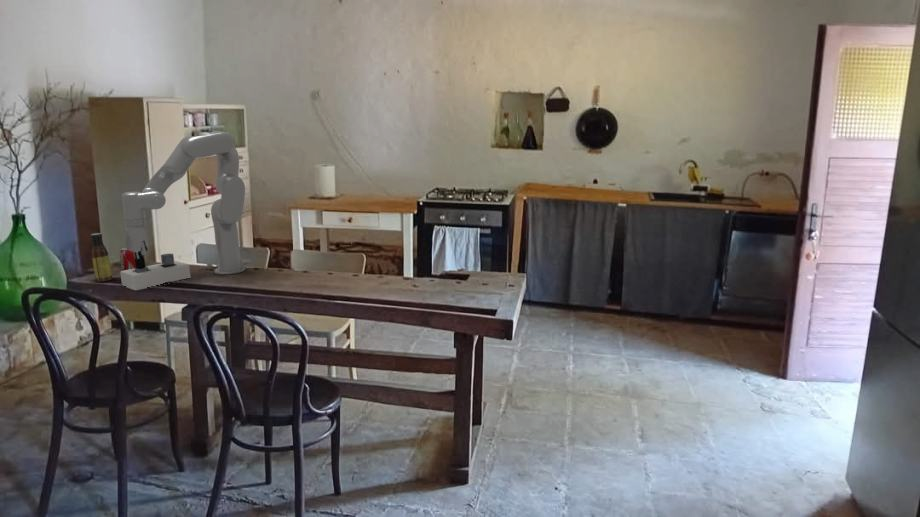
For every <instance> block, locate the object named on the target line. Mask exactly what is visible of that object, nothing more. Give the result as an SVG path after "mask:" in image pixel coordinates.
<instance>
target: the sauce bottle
mask: <svg viewBox="0 0 920 517" xmlns="http://www.w3.org/2000/svg"><path fill="white" fill-rule="evenodd" d="M90 239H91V241H92V248H91V251H90V254H91V260H92V265H93V270H94V271H93V272H94V278H95V280H96V282H99V283H103V282H109V281H111V280H113V271H112V267H111V260H110V256H109V252H108V250H107V248H106V246H105V244H104V242H103V235H102V233H101V232H95V233H91V234H90Z"/></svg>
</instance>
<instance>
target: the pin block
mask: <svg viewBox="0 0 920 517" xmlns="http://www.w3.org/2000/svg"><path fill="white" fill-rule="evenodd" d="M174 264H175V266H171V267H166V268H164V267H162V262H161V263H158V264H157V263H155V264H152V265H146V266H147V267H148V271H146V272H141V273H136V272H135V269H130V270H124V271H122V270H121V271H120V279H121V286H122V285H123V286H122V287H124V286H126V287H125V288H127V289H130V290H133V291H134V292H135V291H140V290H144V289H148V288H147V287H150V288H152V287H151V286H154V287H157V286H156V285H159V286H161V285H160V284H163V283H165V282H168V281H173V280H179V279H186V278H192V277H191V269H190V264H188V263H184V262H181V261H178V260H174Z"/></svg>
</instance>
